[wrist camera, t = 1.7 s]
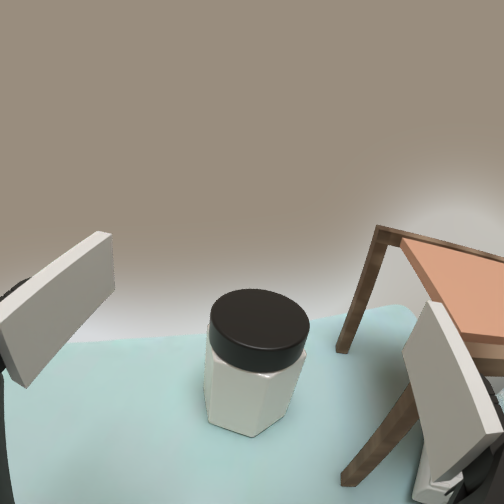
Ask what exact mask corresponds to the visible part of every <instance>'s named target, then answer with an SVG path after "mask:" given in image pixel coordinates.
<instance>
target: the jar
mask: <svg viewBox="0 0 504 504" xmlns="http://www.w3.org/2000/svg"><path fill="white" fill-rule="evenodd" d="M309 328H310V323H309V319H308V317H307V315H306V313H305V311H304V310H303V309H302V308H301V307H300V306H299V305H298V304H297V303H295V302H294V301H293V300H291V299H289V298H287V297H285V296H283V295H281V294H278V293H275V292H271V291H267V290H261V289H241V290H236V291H232V292H229V293H227V294H225V295H223V296H221V297H220V298H219V299H218V300H216V302H215V303H214V304H213V306H212V309H211V313H210V324H208V326H207V339H206V354H205V370H204V387H203V390H204V396H205V403H206V409H207V415H208V421H209V422H210V423H212V424H214V425H217V426H220V427H223V428H225V429H228V430H231V431H234V432H237V433H240V434H243V435H246V436H249V437H255V436H256V435H258V434H259V433H260V432H262V431H263V430H265V429H266V428H268V427H269V426H271V425H272V424H273V423H275V422H276V421H278V420H279V419H280V418H282V417H283V416H284V415H285V413H286V410H287V408H288V405H289V403H290V400H291V397H292V395H293V392H294V389H295V387H296V384H297V381H298V378H299V376H300V373H301V370H302V367H303V364H304V362H305V359H306V356H307V354H306V352H305V350H304V345H305V342H306V339H307V336H308V333H309Z"/></svg>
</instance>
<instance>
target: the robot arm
mask: <svg viewBox="0 0 504 504" xmlns="http://www.w3.org/2000/svg"><path fill="white" fill-rule="evenodd" d="M114 290H115V282H114V268H113V248H112V234H109V233H105V232H100V231H97V232H95V233H94V234H92V235H91V236H89V237H88V238H86V239H85V240H83V241H82V242H80V243H79V244H77V245H76V246H74V247H73V248H72V249H70V250H69V251H67V252H66V253H65V254H63V255H62V256H60V257H59V258H57V259H56V260H55V261H53V262H52V263H50V264H49V265H48V266H46V267H45V268H44V269H42V270H41V271H40V272H38V273H37V274H36V275H34V276H33V277H30V278H28V279H25V280H23V281H21V282H19V283H18V284H16V285H15V286H14V287H12V288H11V290H10V291H8V292H6V293H5V294H4V296H1V297H0V504H15V502H14V497H13V492H12V486H11V480H10V474H9V467H8V459H7V450H6V438H5V423H4V379H3V375H2V371H3V370H4V369H5V368H6V369H7V371H8V373H9V375H10V377H11V379H12V380H13V381H15V382H16V383H18V384H19V385H21V386H23V387H24V388H26V389H27V388H28V387H29V385H30V384H31V383H32V382H33V380H34V379H35V378H36V377H37V376H38V375H39V373H40V372H41V371H42V370H43V369H44V367H45V366H46V365H47V364H48V363H49V362H50V360H51V359H52V358H53V357H54V356H55V355H56V354H57V352H58V351H59V350H60V349H61V348H62V347H63V346H64V344H65V343H66V342H67V341H68V340H69V339H70V338H71V337H72V335H73V334H74V333H75V332H76V331H77V330H78V329H79V328H80V327H81V325H82V324H83V323H84V322H85V321H86V320H87V319H88V318H89V317H90V316H91V315H92V314H93V313H94V312H95V310H96V309H97V308H98V307H99V306H100V305H101V304H102V303H103V302H104V301H105V300H106V299H107V298H108V297H109V296H110V295H111V294H112V293H113V292H114ZM402 355H403V358H404V361H405V365H406V368H407V372H408V375H409V379H410V383H411V386H412V390H413V394H414V398H415V402H416V406H417V410H418V414H419V418H420V422H421V427H422V431H423V436H424V440H425V445H426V450H427V455H428V460H429V466H430V471H431V477H432V483H435V482H443V481H451V480H452V479H453V478H454V477H456V476H457V475H458V474H459V473H460V472H462V475H463V479H462V480H461V481H460V482H458V483H457V484H456V485H454V486H453V487H452V488H450V489H449V490H448V491H447V492H446V493H445V494H444V496H447V495H448V494H450V493H451V492H453V491H454V492H453V493H452V495H451V497H450V498H449V501H448V502H447V504H504V413H503V411H502V409H501V406H500V405H498V403H499V402H498V399H497V397H496V396H495V393H494V391H493V389H492V386H491V384H490V383H489V381H488V380H487V379H486V378H485V377H484V375H483V374H482V373H479V372H478V370H477V368H476V366H475V364H474V362H473V360H472V358H471V356H470V354H469V352H468V350H467V348H466V346H465V344H464V342H463V340H462V338H461V336H460V335H459V333H458V331H457V329H456V327H455V325H454V324H453V322H452V320H451V318H450V316H449V315H448V313H447V311H446V309H445V308H444V306H443V304H442V303H439V302H434V301H428V300H427V302H426V304H425V306H424V308H423V310H422V312H421V314H420V316H419V318H418V321H417V323H416V325H415V327H414V329H413V331H412V333H411V334H410V336H409V338H408V340H407V342H406V344H405V346H404V348H403V350H402Z"/></svg>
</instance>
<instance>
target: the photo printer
mask: <svg viewBox="0 0 504 504" xmlns="http://www.w3.org/2000/svg"><path fill="white" fill-rule="evenodd" d="M462 479H463V475H462V472H460V473H459V474H458V475H457V476H456V477H454V478H453V479H452V480H451V481H443V482H435V483H432V477H431V471H430V466H429V460H428V455H427V450H426V445H425V440H424V444H423V449H422V454H421V459H420V464H419V468H418V472H417V477H416V481H415V485H414V489H413V493H412V499H413V500H415V501H418V502H421V503H425V504H447V502H448V501H449V498H450V497H451V495H452V493H453V492H454V491H453V492H451V493H450V494H448V495H447V496H444V494H445V493H446V492H447V491H448V490H449V489H450V488H452V487H453V486H454V485H456V484H457V483H458V482H460V481H461V480H462Z"/></svg>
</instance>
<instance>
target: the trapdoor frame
mask: <svg viewBox="0 0 504 504" xmlns="http://www.w3.org/2000/svg"><path fill="white" fill-rule="evenodd" d="M402 238H406V239H411V240H415V241H419V242H423V243H427V244H431V245H435V246H439V247H443V248H447V249H451V250H455V251H459V252H463V253H467V254H471V255H474V256H478V257H482V258H485V259H489V260H493V261H496V262H500V263H504V257H500V256H496V255H493V254H490V253H486V252H483V251H479V250H475V249H472V248H468V247H465V246H461V245H457V244H453V243H449V242H446V241H442V240H438V239H434V238H430V237H426V236H422V235H418V234H414V233H410V232H406V231H402V230H397V229H393V228H389V227H385V226H380V225H376V228H375V231H374V235H373V238H372V241H371V245H370V248H369V252H368V255H367V258H366V261H365V264H364V267H363V271H362V274H361V277H360V280H359V283H358V286H357V289H356V291H355V294H354V297H353V300H352V303H351V306H350V309H349V311H348V314H347V317H346V320H345V322H344V325H343V328H342V330H341V333H340V335H339V338H338V341H337V343H336V352H337V353H343V354H347V353H348V350H349V348H350V346H351V343H352V341H353V339H354V336H355V334H356V331H357V329H358V326H359V324H360V321H361V319H362V316H363V314H364V311H365V309H366V306H367V303H368V301H369V298H370V295H371V293H372V290H373V287H374V284H375V281H376V279H377V276H378V273H379V270H380V267H381V264H382V261H383V258H384V255H385V252H386V249H387V246H388V245H392V246H396V247H400V243H401V240H402ZM463 342H464V341H463ZM464 344H465V346H466V348H467V350H468V352H469V354H470V356H471V358H472V360H473V362H474V364H475V366H476V368H477V370H478V372H479V373H482V374H483V375H484V376H495V377H497V376H498V377H504V345H495V344H484V343H474V342H464ZM418 419H419V414H418V410H417V406H416V402H415V398H414V394H413V390H412V386H411V383H409V384H408V386H407V387H406V389H405V390H404V392H403V393H402V395H401V396H400V398H399V399H398V401H397V402H396V404H395V405H394V407H393V408H392V409H391V411H390V412H389V414H388V415H387V416H386V418H385V419H384V421H383V422H382V423H381V425H380V426H379V427H378V429H377V430H376V431H375V433H374V434H373V435H372V437H371V438H370V439H369V440H368V442H367V443H366V444H365V445H364V447H363V448H362V449H361V450H360V452H359V453H358V454H357V455H356V456H355V458H354V459H353V460H352V461H351V462H350V463H349V465H348V466H347V467H346V468H345V469H344V470H343V471H342V473H341V486H346V487H356V486H357V485H358V484H359V483H360V482H361V481H362V480H363V479H364V478H365V477H366V476H367V475H368V474H369V473H371V472H372V471H373V470H374V468H375V467H376V466H377V465H378V464H379V463H380V462H381V461H382V460H383V459H384V458H385V457H386V456H387V455H388V454H389V453H390V452H391V451H392V450H393V448H394V447H395V446H396V445H397V444H398V443H399V442H400V441H401V439H402V438H403V437H404V436H405V435H406V434H407V432H408V431H409V430H410V429H411V428H412V426H413V425H414V424H415V423H416V422H417V420H418Z"/></svg>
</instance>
